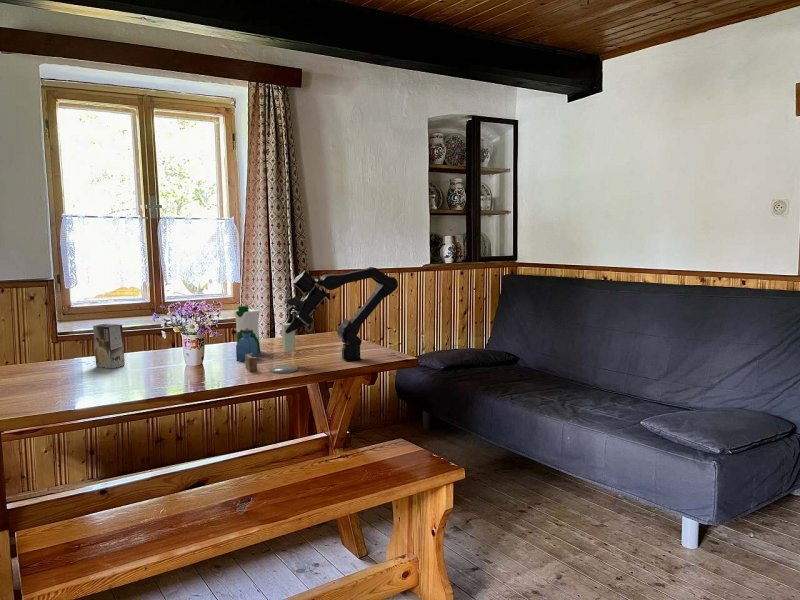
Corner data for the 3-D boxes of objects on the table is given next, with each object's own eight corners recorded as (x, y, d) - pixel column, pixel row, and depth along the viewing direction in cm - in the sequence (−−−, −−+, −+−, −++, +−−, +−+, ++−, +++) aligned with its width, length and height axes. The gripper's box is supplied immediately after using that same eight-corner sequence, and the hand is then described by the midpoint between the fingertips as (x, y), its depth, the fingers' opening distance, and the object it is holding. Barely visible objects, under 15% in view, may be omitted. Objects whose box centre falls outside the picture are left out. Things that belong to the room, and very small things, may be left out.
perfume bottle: (251, 361, 242) (250, 331, 240) (236, 360, 243) (235, 331, 242) (257, 358, 248) (256, 329, 246) (243, 357, 249) (242, 328, 248)
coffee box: (125, 365, 236) (123, 324, 234) (112, 369, 230) (109, 327, 228) (108, 363, 239) (106, 323, 238) (94, 367, 234) (92, 325, 232)
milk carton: (233, 353, 258) (231, 306, 256) (249, 349, 265) (247, 303, 263) (248, 355, 253) (246, 307, 251) (263, 351, 261) (262, 305, 258)
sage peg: (293, 348, 236) (292, 322, 235) (295, 350, 232) (294, 324, 231) (283, 349, 235) (281, 323, 233) (285, 351, 231) (284, 325, 230)
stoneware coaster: (293, 366, 233) (293, 364, 233) (300, 371, 224) (300, 370, 224) (267, 368, 229) (267, 367, 229) (273, 374, 220) (273, 372, 220)
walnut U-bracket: (252, 366, 233) (252, 353, 232) (257, 371, 225) (256, 357, 224) (245, 367, 232) (245, 354, 231) (249, 371, 224) (249, 358, 223)
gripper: (290, 285, 241) (264, 315, 238) (303, 289, 224) (274, 321, 221) (311, 303, 245) (285, 333, 242) (324, 309, 228) (296, 341, 225)
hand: (284, 332), depth 232 cm, fingers closed on sage peg, 4 cm apart
